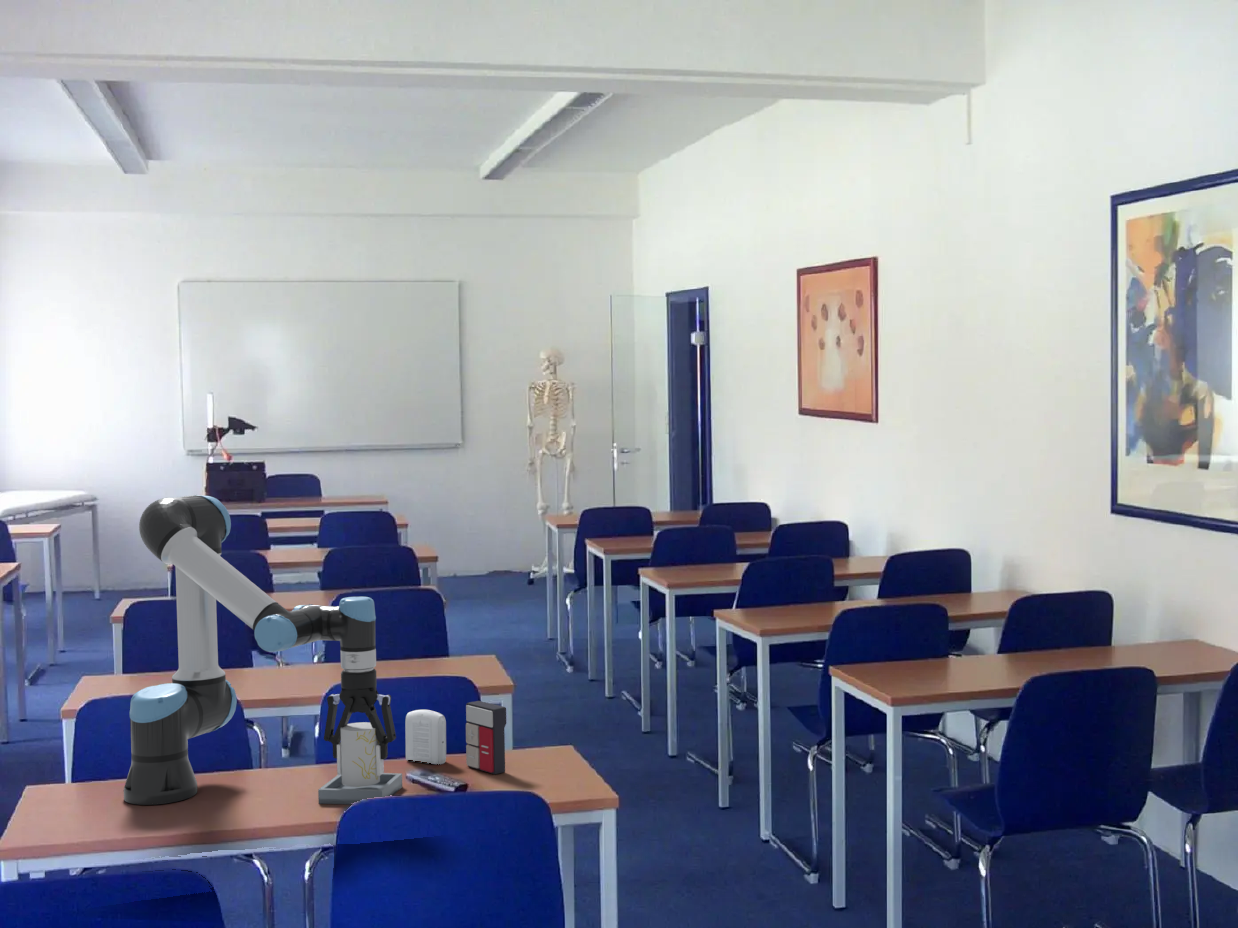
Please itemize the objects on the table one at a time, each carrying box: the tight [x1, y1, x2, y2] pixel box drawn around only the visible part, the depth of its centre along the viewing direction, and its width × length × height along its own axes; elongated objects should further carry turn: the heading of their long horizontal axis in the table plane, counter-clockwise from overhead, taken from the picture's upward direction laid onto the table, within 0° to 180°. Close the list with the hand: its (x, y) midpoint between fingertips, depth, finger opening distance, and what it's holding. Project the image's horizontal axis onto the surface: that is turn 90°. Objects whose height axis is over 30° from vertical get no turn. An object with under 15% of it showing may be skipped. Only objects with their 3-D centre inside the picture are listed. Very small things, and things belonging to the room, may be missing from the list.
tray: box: [317, 772, 403, 805], centre depth 281 cm, size 14×14×3 cm
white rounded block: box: [404, 709, 447, 766], centre depth 309 cm, size 10×4×12 cm, turn 64°
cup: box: [340, 721, 380, 787], centre depth 281 cm, size 8×8×12 cm
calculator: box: [465, 700, 507, 775], centre depth 301 cm, size 11×4×15 cm, turn 42°
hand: (360, 773), depth 281 cm, fingers closed on cup, 8 cm apart
